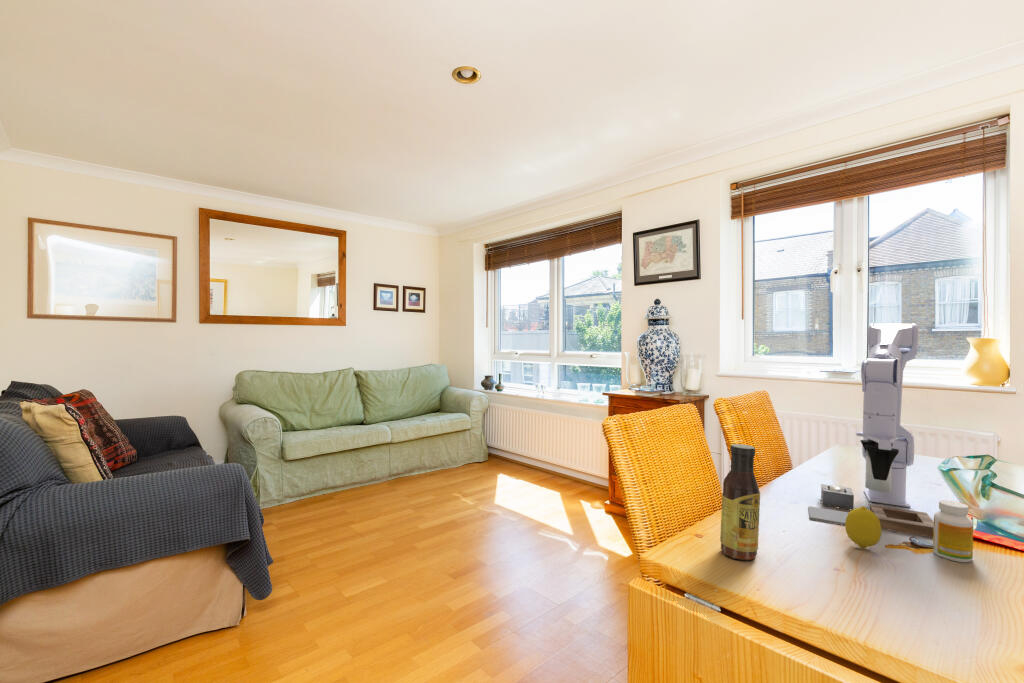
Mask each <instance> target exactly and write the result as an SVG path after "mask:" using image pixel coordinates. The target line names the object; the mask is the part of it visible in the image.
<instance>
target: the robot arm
mask: <svg viewBox="0 0 1024 683" xmlns="http://www.w3.org/2000/svg"><path fill="white" fill-rule="evenodd" d="M866 339H867V340H866V341H867V345H868V352H869V354H868V357H867V359H866V360H862V362H861V367H860V379H861V386H862V387H861V389H862V392H863V402H862V403H863V404H862V405H863V407H862V408H863V409H862V411H863V412H862V431H855V435H856V436H857V437H862V439H860V440H859V441H860V443H861V445H862V446H861V448H862V449H861V452H862V457H863V458H864V460H866V450H867V452H868V454H869V457H870V461H871V467H872V473H873V477H874V479H877V480H885V481H886V480H887V478H888V474H889V471H890V467H891V491H890V492H879V491H874V490H870V489H867V488H866V489H865V488H864V489H863V492H864V494H865V496H866V498H867V500H868V501H869V502H871V503H872V502H873V503H877V504H878V503H879V504H885V505H892V506H898V507H899V506H900V507H906V508H911V505H912V504H910V502H909V501H908V500H907V499H906V498H907V497H906V495H907V468H908V467H911V466H913V465H914V460H915V459H914V458H915V438H914V435H913V434H912V432H911V431H909V430H908V429H906V428H905V427H904V426H902V425H901V419H902V418H901V416H902V399H903V398H902V396H903V380H904V369H905V367H906V364H907V362H910V361H912V360H915V359H916V355H918V345H919V326H918V324H917V323H914V322H913V323H870V324H869V325H868V327H867V334H866Z"/></svg>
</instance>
